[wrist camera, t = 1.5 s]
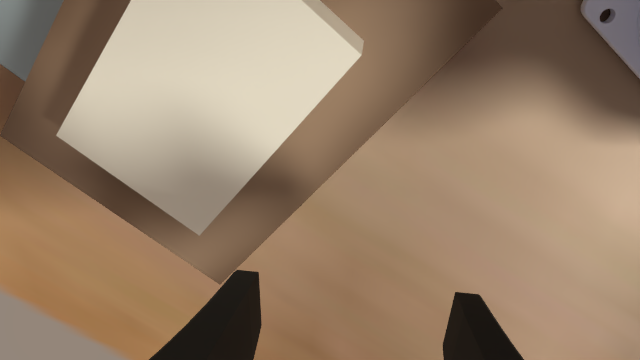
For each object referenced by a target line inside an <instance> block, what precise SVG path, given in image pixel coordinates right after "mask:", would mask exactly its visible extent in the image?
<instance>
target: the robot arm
mask: <svg viewBox="0 0 640 360" xmlns="http://www.w3.org/2000/svg"><path fill="white" fill-rule="evenodd" d="M606 9H610V11H611V13H610V16H609V18H608V19H607V20H605V21H604V22H601V21H600V15H601V13H602V12H603V11H604V10H606ZM581 13H582V15H583V16H584V18H585V19H586V20H587V21H588V22H589V23H590V24H591V25H592V27H593V28H594V29H595V30H596V31H597V32H598V33H599V34H600V36H601V37H602V38H603V39H604V40H605V41H606V42H607V43H608V44H609V46H610V47H611V48H612V49H613V50H614V51H615V52H616V53H617V55H618V56H619V57H620V58H621V59H622V60H623V61H624V62H625V64H626V65H627V66H628V67H629V68H630V69H631V70H632V71H633V72H634V74H635V75H636V76H637V77H638V78H639V79H640V0H583V2H582V5H581ZM260 329H261V308H260V290H259V272H252V271H242V270H237V271H235V272H234V273H233V274H232V275H231V276H230V278H229V279H228V280H227V281H226V282H225V283H224V285H223V286H222V287H221V288H220V289H219V290H218V291H217V293H216V294H215V295H214V296H213V297H212V298H211V299H210V300H209V301H208V303H207V304H206V305H205V306H204V307H203V308H202V309H201V310H200V311H199V312H198V313H197V314H196V315H195V316H194V317H193V318H192V319H191V320H190V322H189V323H188V324H187V325H186V326H185V327H184V328H183V329H182V330H180V331H179V332H178V333H177V334H176V335H175V336H174V337H173V338H172V339H171V340H170V341H169V342H168V343H167V344H166V345H165V346H164V347H163V348H161V349H160V350H159V351H158V352H157V353H156V354H155V355H154V356H152V357H151V358H150V359H149V360H253V359H254V355H255V350H256V346H257V342H258V338H259V333H260ZM443 355H444V360H524V359H523V358H522V356H521V355H520V354H519V352H518V351H517V350H516V348H515V347H514V345H513V344H512V342H511V341H510V340H509V338H508V337H507V335H506V334H505V332H504V331H503V329H502V328H501V327H500V325H499V324H498V322H497V321H496V319H495V318H494V316H493V314H492V313H491V311H490V310H489V308H488V307H487V305H486V304H485V302H484V301H483V299H482V298H481V296H480V295H479V294H469V293H459V292H455V296H454V300H453V304H452V308H451V313H450V317H449V321H448V325H447V329H446V334H445V338H444V342H443Z"/></svg>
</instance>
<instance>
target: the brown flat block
mask: <svg viewBox="0 0 640 360" xmlns="http://www.w3.org/2000/svg"><path fill="white" fill-rule="evenodd" d="M130 1H131V0H64V1H63V3H62V5H61V7H60V9H59V11H58V13H57V15H56V18H55V20H54V22H53V24H52V26H51V28H50V30H49V32H48V35H47V37H46V39H45V41H44V43H43V45H42V47H41V49H40V52H39V54H38V56H37V58H36V60H35V62H34V64H33V66H32V69H31V71H30V73H29V75H28V77H27V79H26V81H25V83H24V86H23V88H22V90H21V92H20V94H19V96H18V98H17V100H16V103H15V105H14V107H13V109H12V111H11V113H10V115H9V117H8V119H7V122H6V124H5V126H4V128H3V130H2V132H1V134H0V136H1V137H3V138H4V139H6V140H7V141H9V142H10V143H12V144H13V145H14V146H16V147H17V148H19V149H20V150H22V151H23V152H25V153H26V154H28V155H29V156H31V157H32V158H34V159H35V160H37V161H38V162H40V163H41V164H43V165H44V166H46V167H47V168H48V169H50V170H51V171H53V172H54V173H56V174H57V175H59V176H60V177H62V178H63V179H65V180H66V181H68V182H69V183H71V184H72V185H74V186H75V187H77V188H78V189H79V190H81V191H82V192H84V193H85V194H87V195H88V196H90V197H91V198H93V199H94V200H96V201H97V202H99V203H100V204H102V205H103V206H105V207H106V208H108V209H109V210H111V211H112V212H113V213H115V214H116V215H118V216H119V217H121V218H122V219H124V220H125V221H127V222H128V223H130V224H131V225H133V226H134V227H136V228H137V229H139V230H140V231H142V232H143V233H144V234H146V235H147V236H149V237H150V238H152V239H153V240H155V241H156V242H158V243H159V244H161V245H162V246H164V247H165V248H167V249H168V250H170V251H171V252H173V253H174V254H176V255H177V256H178V257H180V258H181V259H183V260H184V261H186V262H187V263H189V264H190V265H192V266H193V267H195V268H196V269H198V270H199V271H201V272H202V273H204V274H205V275H207V276H208V277H209V278H211V279H212V280H214V281H215V282H217V283H218V284H221V283H222V282H223V281H224V280H225V279H226V278H227V277H228V276H229V275H230V274H231V273H232V272H233V271H234V270H235V269H236V268H237V267H238V266H239V265H240V264H242V263H243V262H244V261H245V260H246V259H247V258H248V257H249V256H250V255H251V254H252V253H253V252H254V251H255V250H256V249H257V248H258V247H259V246H260V245H261V244H262V243H263V242H264V241H265V240H266V239H267V238H268V237H269V236H270V235H271V234H272V233H273V232H274V231H275V230H276V229H277V228H278V227H279V226H280V225H281V224H282V223H283V222H284V221H285V220H286V219H287V218H289V217H290V216H291V215H292V214H293V213H294V212H295V211H296V210H297V209H298V208H299V207H300V206H301V205H302V204H303V203H304V202H305V201H306V200H307V199H308V198H309V197H310V196H311V195H312V194H313V193H314V192H315V191H316V190H317V189H318V188H319V187H320V186H321V185H322V184H323V183H324V182H325V181H326V180H327V179H328V178H329V177H330V176H331V175H332V174H333V173H334V172H336V171H337V170H338V169H339V168H340V167H341V166H342V165H343V164H344V163H345V162H346V161H347V160H348V159H349V158H350V157H351V156H352V155H353V154H354V153H355V152H356V151H357V150H358V149H359V148H360V147H361V146H362V145H363V144H364V143H365V142H366V141H367V140H368V139H369V138H370V137H371V136H372V135H373V134H374V133H375V132H376V131H377V130H378V129H379V128H380V127H382V126H383V125H384V124H385V123H386V122H387V121H388V120H389V119H390V118H391V117H392V116H393V115H394V114H395V113H396V112H397V111H398V110H399V109H400V108H401V107H402V106H403V105H404V104H405V103H406V102H407V101H408V100H409V99H410V98H411V97H412V96H413V95H414V94H415V93H416V92H417V91H418V90H419V89H420V88H421V87H422V86H423V85H424V84H425V83H426V82H427V81H429V80H430V79H431V78H432V77H433V76H434V75H435V74H436V73H437V72H438V71H439V70H440V69H441V68H442V67H443V66H444V65H445V64H446V63H447V62H448V61H449V60H450V59H451V58H452V57H453V56H454V55H455V54H456V53H457V52H458V51H459V50H460V49H461V48H462V47H463V46H464V45H465V44H466V43H467V42H468V41H469V40H470V39H471V38H472V37H473V36H474V35H476V34H477V33H478V32H479V31H480V30H481V29H482V28H483V27H484V26H485V25H486V24H487V23H488V22H489V21H490V20H491V19H492V18H493V17H494V16H495V15H496V14H497V13H498V12H499V11H500V10H501V9H502V7H501V6H500V5H499V4H498V3H497V2H496V1H495V0H320V1H321V2H322V3H324V4H325V5H326V6H327V7H328V8H329V9H330V10H331V11H332V12H333V13H334V14H335V15H337V16H338V17H339V18H340V19H341V20H342V21H343V22H344V23H345V24H346V25H347V26H348V27H350V28H351V29H352V30H353V31H354V32H355V33H356V34H357V35H358V36H359V37H360V38H361V39H363V40H364V43H363V50H362V55H361V56H360V58H359V59H358V60H357V61H356V62H355V63H354V64H353V65H352V66H351V68H350V69H349V70H348V71H347V72H346V73H345V74H344V75H343V76H342V78H341V79H340V80H339V81H338V82H337V83H336V84H335V85H334V86H333V88H332V89H331V90H330V91H329V92H328V93H327V94H326V95H325V97H324V98H323V99H322V100H321V101H320V102H319V103H318V104H317V105H316V107H315V108H314V109H313V110H312V111H311V112H310V113H309V114H308V115H307V117H306V118H305V119H304V120H303V121H302V122H301V123H300V124H299V125H298V127H297V128H296V129H295V130H294V131H293V132H292V133H291V134H290V135H289V137H288V138H287V139H286V140H285V141H284V142H283V143H282V144H281V145H280V147H279V148H278V149H277V150H276V151H275V152H274V153H273V154H272V155H271V157H270V158H269V159H268V160H267V161H266V162H265V163H264V164H263V165H262V167H261V168H260V169H259V170H258V171H257V172H256V173H255V174H254V175H253V177H252V178H251V179H250V180H249V181H248V182H247V183H246V184H245V185H244V187H243V188H242V189H241V190H240V191H239V192H238V193H237V194H236V195H235V197H234V198H233V199H232V200H231V201H230V202H229V203H228V204H227V205H226V207H225V208H224V209H223V210H222V211H221V212H220V213H219V214H218V215H217V217H216V218H215V219H214V220H213V221H212V222H211V223H210V224H209V225H208V227H207V228H206V229H205V230H204V231H203V232H202V233H201V234H200V236H199V235H198V234H196V233H195V232H193V231H192V230H190V229H189V228H188V227H186V226H185V225H183V224H182V223H180V222H179V221H178V220H176V219H175V218H173V217H172V216H170V215H169V214H168V213H166V212H165V211H163V210H162V209H160V208H159V207H158V206H156V205H155V204H153V203H152V202H150V201H149V200H148V199H146V198H145V197H143V196H142V195H140V194H139V193H138V192H136V191H135V190H133V189H132V188H130V187H129V186H128V185H126V184H125V183H123V182H122V181H120V180H119V179H117V178H116V177H115V176H113V175H112V174H110V173H109V172H107V171H106V170H105V169H103V168H102V167H100V166H99V165H97V164H96V163H95V162H93V161H92V160H90V159H89V158H87V157H86V156H85V155H83V154H82V153H80V152H79V151H77V150H76V149H75V148H73V147H72V146H70V145H69V144H67V143H66V142H65V141H63V140H62V139H60V138H59V137H57V136H56V135H57V133H58V131H59V129H60V127H61V126H62V124H63V122H64V120H65V118H66V117H67V115H68V113H69V111H70V109H71V108H72V106H73V104H74V102H75V100H76V99H77V97H78V95H79V93H80V91H81V90H82V88H83V86H84V84H85V82H86V81H87V79H88V77H89V75H90V73H91V72H92V70H93V68H94V66H95V64H96V62H97V61H98V59H99V57H100V55H101V53H102V52H103V50H104V48H105V46H106V44H107V43H108V41H109V39H110V37H111V35H112V34H113V32H114V30H115V28H116V26H117V25H118V23H119V21H120V19H121V17H122V16H123V14H124V12H125V10H126V8H127V7H128V5H129V3H130Z"/></svg>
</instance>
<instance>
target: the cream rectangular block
mask: <svg viewBox="0 0 640 360" xmlns="http://www.w3.org/2000/svg"><path fill="white" fill-rule="evenodd" d="M363 43H364V40H363V39H361V38H360V37H359V36H358V35H357V34H356V33H355V32H354V31H353V30H352V29H351V28H350V27H348V26H347V25H346V24H345V23H344V22H343V21H342V20H341V19H340V18H339V17H338V16H337V15H335V14H334V13H333V12H332V11H331V10H330V9H329V8H328V7H327V6H326V5H325V4H324V3H322V2H321V1H320V0H131V1H130V3H129V5H128V7H127V8H126V10H125V12H124V14H123V16H122V17H121V19H120V21H119V23H118V25H117V26H116V28H115V30H114V32H113V34H112V35H111V37H110V39H109V41H108V43H107V44H106V46H105V48H104V50H103V52H102V53H101V55H100V57H99V59H98V61H97V62H96V64H95V66H94V68H93V70H92V72H91V73H90V75H89V77H88V79H87V81H86V82H85V84H84V86H83V88H82V90H81V91H80V93H79V95H78V97H77V99H76V100H75V102H74V104H73V106H72V108H71V109H70V111H69V113H68V115H67V117H66V118H65V120H64V122H63V124H62V126H61V127H60V129H59V131H58V133H57V135H56V136H57V137H59V138H60V139H62V140H63V141H65V142H66V143H67V144H69V145H70V146H72V147H73V148H75V149H76V150H77V151H79V152H80V153H82V154H83V155H85V156H86V157H87V158H89V159H90V160H92V161H93V162H95V163H96V164H97V165H99V166H100V167H102V168H103V169H105V170H106V171H107V172H109V173H110V174H112V175H113V176H115V177H116V178H117V179H119V180H120V181H122V182H123V183H125V184H126V185H128V186H129V187H130V188H132V189H133V190H135V191H136V192H138V193H139V194H140V195H142V196H143V197H145V198H146V199H148V200H149V201H150V202H152V203H153V204H155V205H156V206H158V207H159V208H160V209H162V210H163V211H165V212H166V213H168V214H169V215H170V216H172V217H173V218H175V219H176V220H178V221H179V222H180V223H182V224H183V225H185V226H186V227H188V228H189V229H190V230H192V231H193V232H195V233H196V234H198V235H199V236H200V234H201V233H202V232H203V231H204V230H205V229H206V228H207V227H208V225H209V224H210V223H211V222H212V221H213V220H214V219H215V218H216V217H217V215H218V214H219V213H220V212H221V211H222V210H223V209H224V208H225V207H226V205H227V204H228V203H229V202H230V201H231V200H232V199H233V198H234V197H235V195H236V194H237V193H238V192H239V191H240V190H241V189H242V188H243V187H244V185H245V184H246V183H247V182H248V181H249V180H250V179H251V178H252V177H253V175H254V174H255V173H256V172H257V171H258V170H259V169H260V168H261V167H262V165H263V164H264V163H265V162H266V161H267V160H268V159H269V158H270V157H271V155H272V154H273V153H274V152H275V151H276V150H277V149H278V148H279V147H280V145H281V144H282V143H283V142H284V141H285V140H286V139H287V138H288V137H289V135H290V134H291V133H292V132H293V131H294V130H295V129H296V128H297V127H298V125H299V124H300V123H301V122H302V121H303V120H304V119H305V118H306V117H307V115H308V114H309V113H310V112H311V111H312V110H313V109H314V108H315V107H316V105H317V104H318V103H319V102H320V101H321V100H322V99H323V98H324V97H325V95H326V94H327V93H328V92H329V91H330V90H331V89H332V88H333V86H334V85H335V84H336V83H337V82H338V81H339V80H340V79H341V78H342V76H343V75H344V74H345V73H346V72H347V71H348V70H349V69H350V68H351V66H352V65H353V64H354V63H355V62H356V61H357V60H358V59H359V58H360V56H361V55H362V50H363Z"/></svg>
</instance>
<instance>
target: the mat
mask: <svg viewBox="0 0 640 360" xmlns="http://www.w3.org/2000/svg"><path fill="white" fill-rule="evenodd" d="M63 1H64V0H0V64H1V65H3V66H4V67H5V68H7V69H8V70H10V71H11V72H12V73H14V74H15V75H17V76H18V77H19V78H21V79H22V80H24V81H26V79H27V77H28V75H29V73H30V71H31V69H32V66H33V64H34V62H35V60H36V58H37V56H38V54H39V52H40V49H41V47H42V45H43V43H44V41H45V39H46V37H47V35H48V32H49V30H50V28H51V26H52V24H53V22H54V20H55V18H56V15H57V13H58V11H59V9H60V7H61V5H62V3H63Z"/></svg>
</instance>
